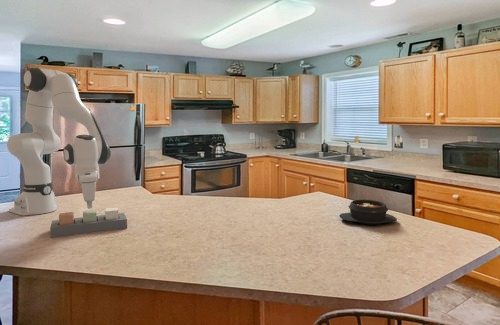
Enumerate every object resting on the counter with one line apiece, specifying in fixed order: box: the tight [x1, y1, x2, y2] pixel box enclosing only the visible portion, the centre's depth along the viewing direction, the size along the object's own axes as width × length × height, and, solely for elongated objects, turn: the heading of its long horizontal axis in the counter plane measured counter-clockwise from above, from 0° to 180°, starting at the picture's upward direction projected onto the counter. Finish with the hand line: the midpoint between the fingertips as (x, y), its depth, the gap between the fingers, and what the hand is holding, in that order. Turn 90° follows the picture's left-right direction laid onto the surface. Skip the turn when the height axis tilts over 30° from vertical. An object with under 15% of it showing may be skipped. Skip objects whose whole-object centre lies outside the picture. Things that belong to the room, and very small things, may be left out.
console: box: [49, 212, 128, 239], centre depth 145 cm, size 28×11×4 cm, turn 116°
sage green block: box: [82, 209, 97, 223], centre depth 144 cm, size 5×5×5 cm
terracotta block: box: [58, 211, 75, 225], centre depth 141 cm, size 5×5×5 cm
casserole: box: [338, 199, 398, 226], centre depth 157 cm, size 25×19×8 cm
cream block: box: [104, 207, 119, 220], centre depth 148 cm, size 5×5×5 cm
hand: (89, 207), depth 144 cm, fingers closed
